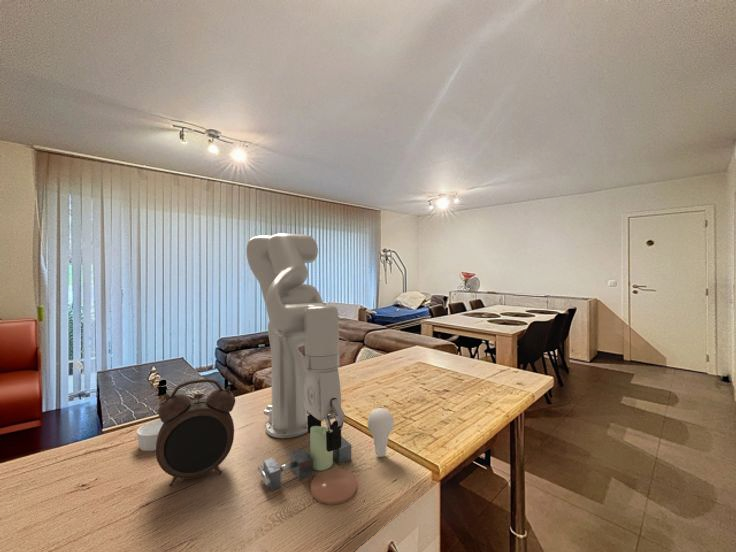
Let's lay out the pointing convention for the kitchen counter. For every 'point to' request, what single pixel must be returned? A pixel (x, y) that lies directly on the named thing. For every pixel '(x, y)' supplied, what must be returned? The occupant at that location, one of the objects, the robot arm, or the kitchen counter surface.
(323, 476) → the coaster
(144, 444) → the ramekin
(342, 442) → the vise
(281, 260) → the robot arm
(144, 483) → the kitchen counter surface
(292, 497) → the kitchen counter surface
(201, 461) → the alarm clock
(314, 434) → the candle
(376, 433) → the lightbulb
